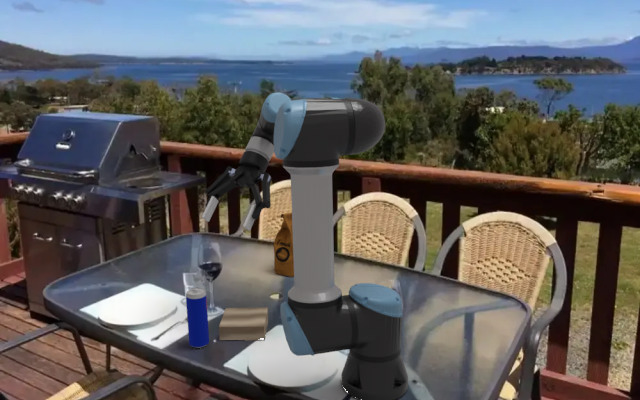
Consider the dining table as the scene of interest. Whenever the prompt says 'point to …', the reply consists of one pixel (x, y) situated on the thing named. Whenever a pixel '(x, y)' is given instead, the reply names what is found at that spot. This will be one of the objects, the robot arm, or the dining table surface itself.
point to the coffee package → (284, 248)
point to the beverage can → (197, 317)
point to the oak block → (243, 324)
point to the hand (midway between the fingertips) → (225, 224)
